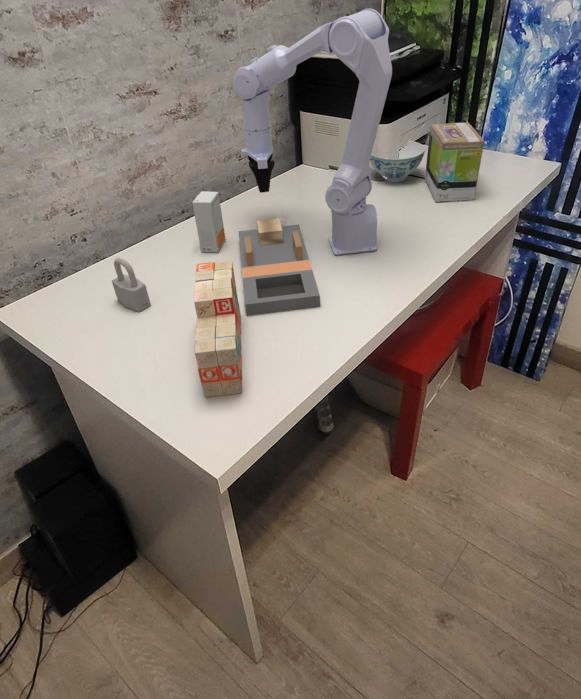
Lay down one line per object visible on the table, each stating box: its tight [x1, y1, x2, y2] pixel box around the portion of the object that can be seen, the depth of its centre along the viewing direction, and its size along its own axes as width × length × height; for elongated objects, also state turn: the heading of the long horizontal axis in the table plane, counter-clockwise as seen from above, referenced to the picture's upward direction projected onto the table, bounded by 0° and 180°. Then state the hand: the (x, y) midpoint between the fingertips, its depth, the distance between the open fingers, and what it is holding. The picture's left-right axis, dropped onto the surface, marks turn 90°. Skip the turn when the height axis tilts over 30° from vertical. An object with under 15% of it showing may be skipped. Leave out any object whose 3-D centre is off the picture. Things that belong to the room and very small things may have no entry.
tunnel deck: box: [238, 224, 321, 316], centre depth 109 cm, size 14×30×6 cm, turn 7°
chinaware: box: [369, 139, 426, 183], centre depth 143 cm, size 15×15×8 cm
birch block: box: [256, 217, 283, 245], centre depth 116 cm, size 5×6×3 cm
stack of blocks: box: [193, 259, 243, 398], centre depth 87 cm, size 21×6×12 cm, turn 5°
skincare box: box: [192, 190, 227, 253], centre depth 117 cm, size 6×4×12 cm
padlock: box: [111, 257, 152, 313], centre depth 102 cm, size 7×4×10 cm, turn 51°
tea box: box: [424, 122, 485, 203], centre depth 132 cm, size 15×10×15 cm
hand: (263, 188), depth 121 cm, fingers open, 3 cm apart
